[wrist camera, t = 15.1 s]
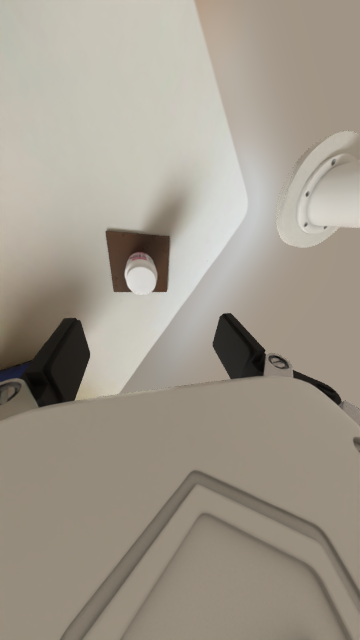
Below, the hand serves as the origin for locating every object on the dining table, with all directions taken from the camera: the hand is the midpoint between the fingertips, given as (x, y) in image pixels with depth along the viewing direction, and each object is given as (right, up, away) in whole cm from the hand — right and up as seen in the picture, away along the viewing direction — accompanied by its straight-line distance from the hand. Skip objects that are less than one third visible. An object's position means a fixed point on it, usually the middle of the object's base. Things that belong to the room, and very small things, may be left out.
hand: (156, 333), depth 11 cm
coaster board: (-6, +11, +17) cm, 21 cm away
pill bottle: (-5, +11, +17) cm, 21 cm away
